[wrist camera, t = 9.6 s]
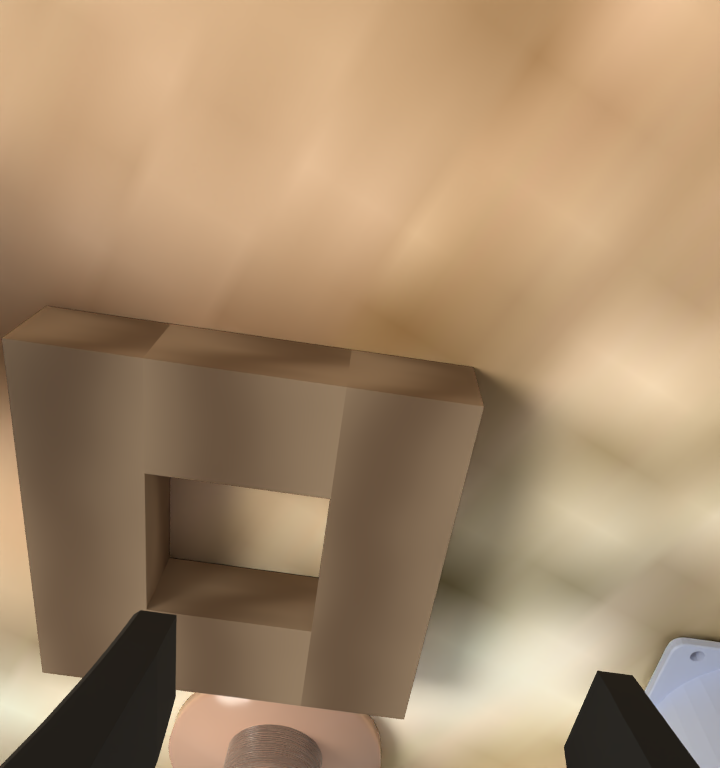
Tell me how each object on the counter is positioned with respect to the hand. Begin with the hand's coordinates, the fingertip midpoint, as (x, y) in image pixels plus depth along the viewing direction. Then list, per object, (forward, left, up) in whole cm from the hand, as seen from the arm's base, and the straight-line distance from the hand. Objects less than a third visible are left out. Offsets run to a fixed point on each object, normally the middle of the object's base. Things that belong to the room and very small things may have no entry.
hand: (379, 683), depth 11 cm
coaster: (+2, +18, -10) cm, 20 cm away
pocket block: (+4, +5, -10) cm, 12 cm away
